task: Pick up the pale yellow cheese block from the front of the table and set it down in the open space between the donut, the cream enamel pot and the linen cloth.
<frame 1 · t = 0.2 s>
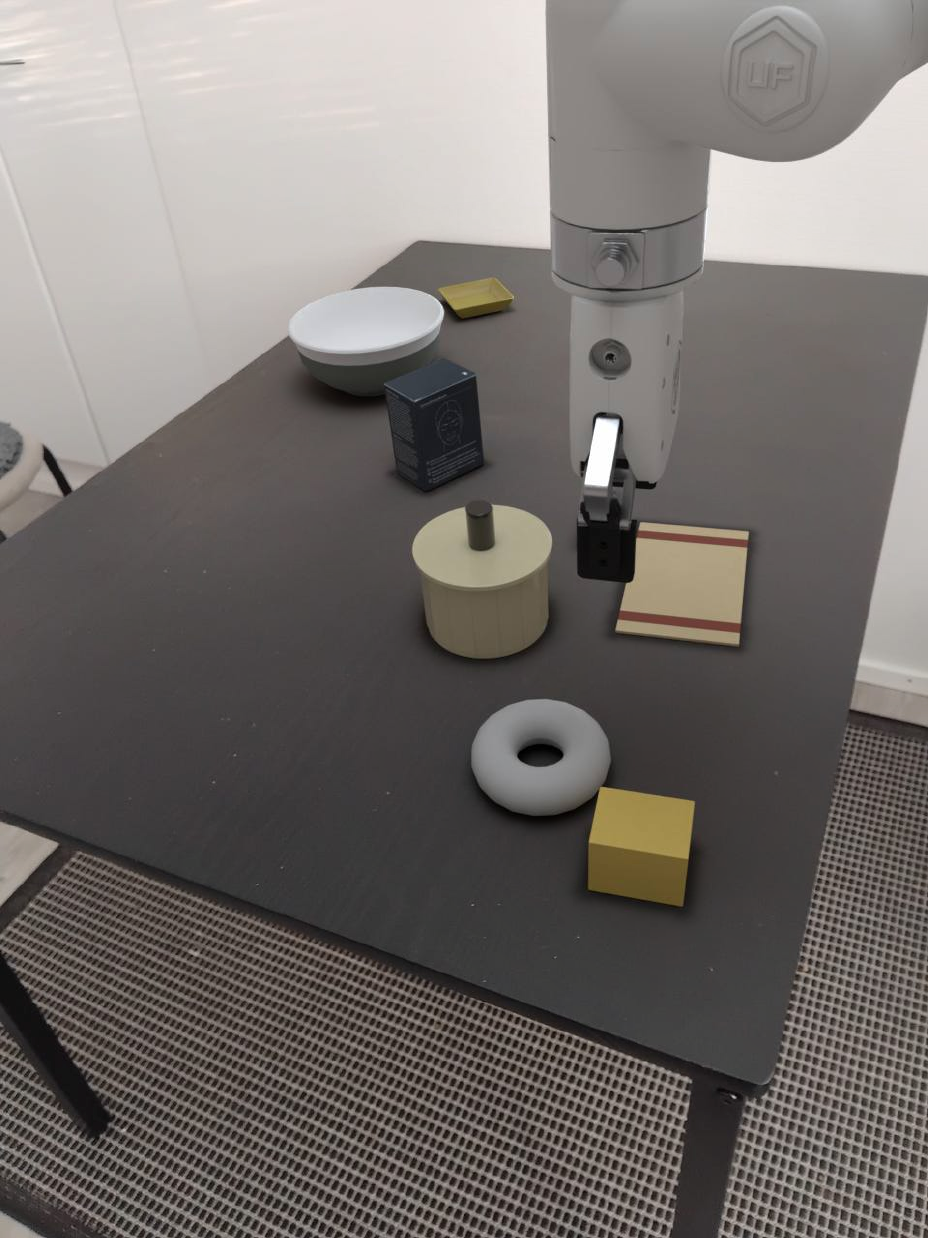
hand: (619, 529, 59), 20 cm above the table, tool pointing down, fingers open, 9 cm apart
pot: (487, 618, 84), on the table
donut: (541, 772, 71), on the table
bowl: (375, 381, 121), on the table
can opener: (598, 521, 94), on the table
pot lid: (482, 548, 80), point 7 cm above the table, touching pot
cheese: (639, 869, 64), on the table
cloth: (685, 580, 86), on the table
yellow tray: (476, 308, 136), on the table
box: (440, 470, 104), on the table
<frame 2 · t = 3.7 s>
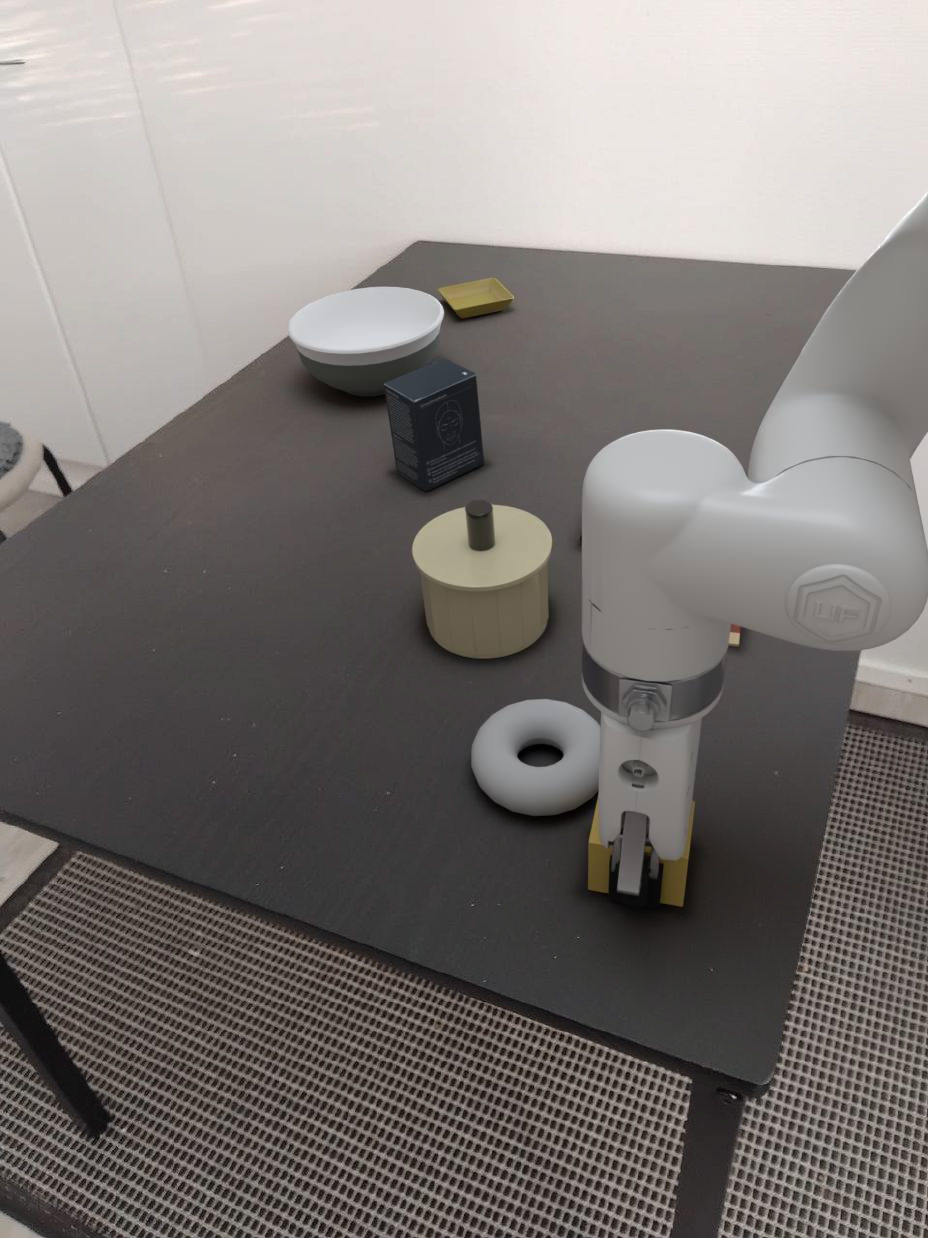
hand: (639, 864, 63), 1 cm above the table, tool pointing down, fingers closed on cheese, 4 cm apart
cheese: (639, 869, 64), on the table, touching gripper
everything else where it was.
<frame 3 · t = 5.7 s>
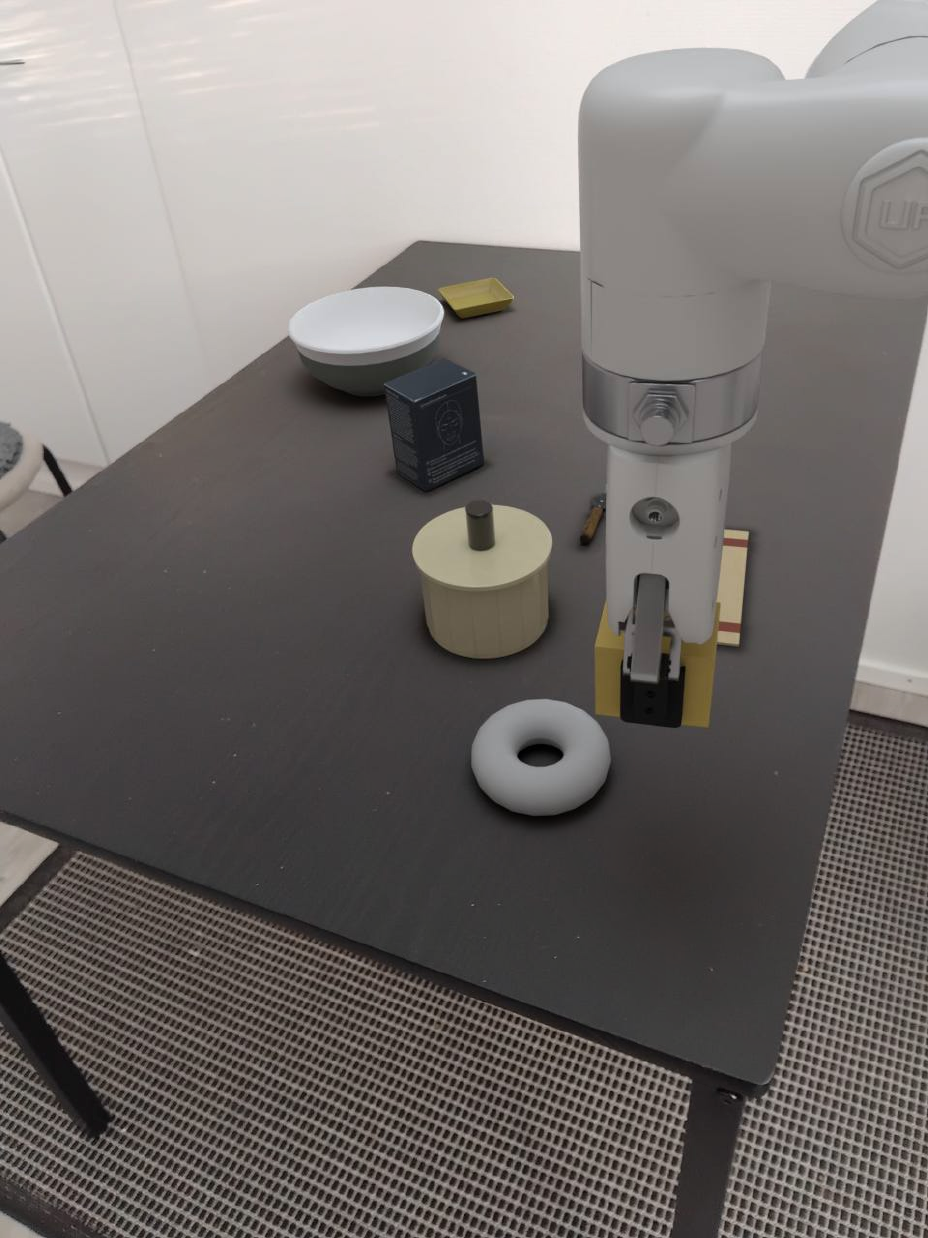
hand: (656, 684, 54), 16 cm above the table, tool pointing down, fingers closed on cheese, 4 cm apart
cheese: (655, 692, 54), point 16 cm above the table, touching gripper
everything else where it was.
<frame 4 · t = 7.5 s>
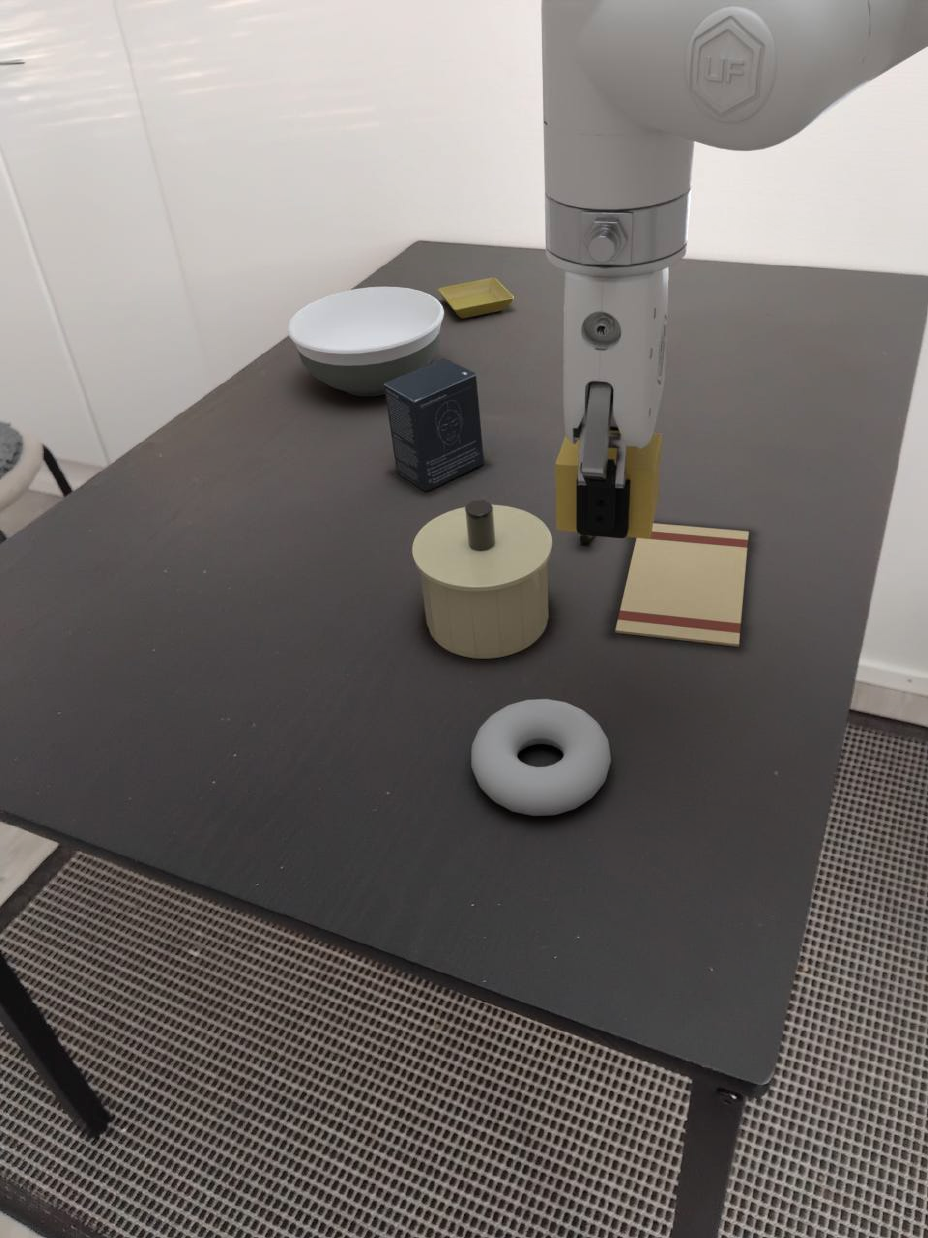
hand: (608, 507, 63), 18 cm above the table, tool pointing down, fingers closed on cheese, 4 cm apart
cheese: (607, 515, 64), point 18 cm above the table, touching gripper
everything else where it was.
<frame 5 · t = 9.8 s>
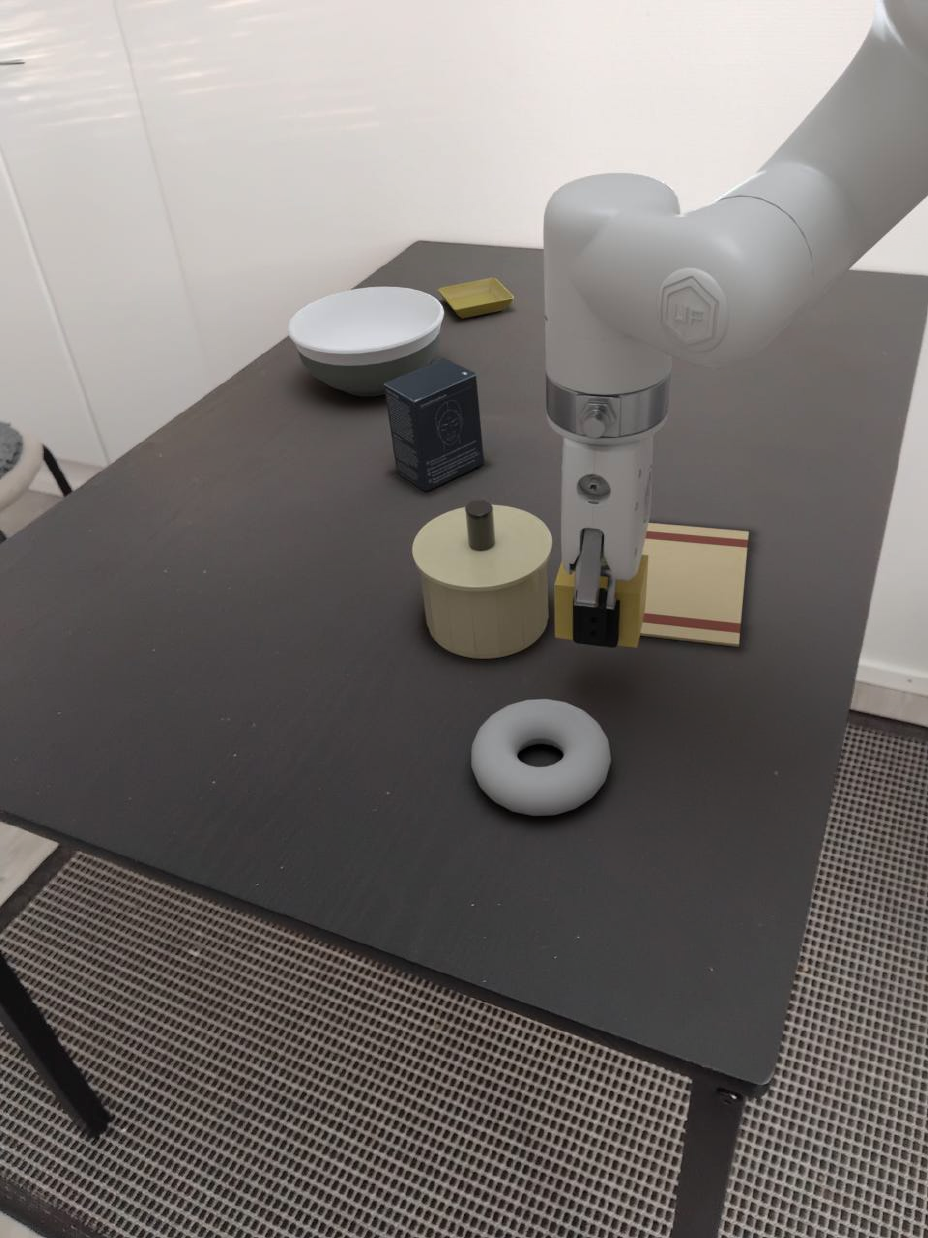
hand: (601, 617, 72), 7 cm above the table, tool pointing down, fingers closed on cheese, 4 cm apart
cheese: (600, 623, 72), point 7 cm above the table, touching gripper
everything else where it was.
when the fingers open (1 cm above the table, at t = 11.7 s): cheese stays where it is, on the table.
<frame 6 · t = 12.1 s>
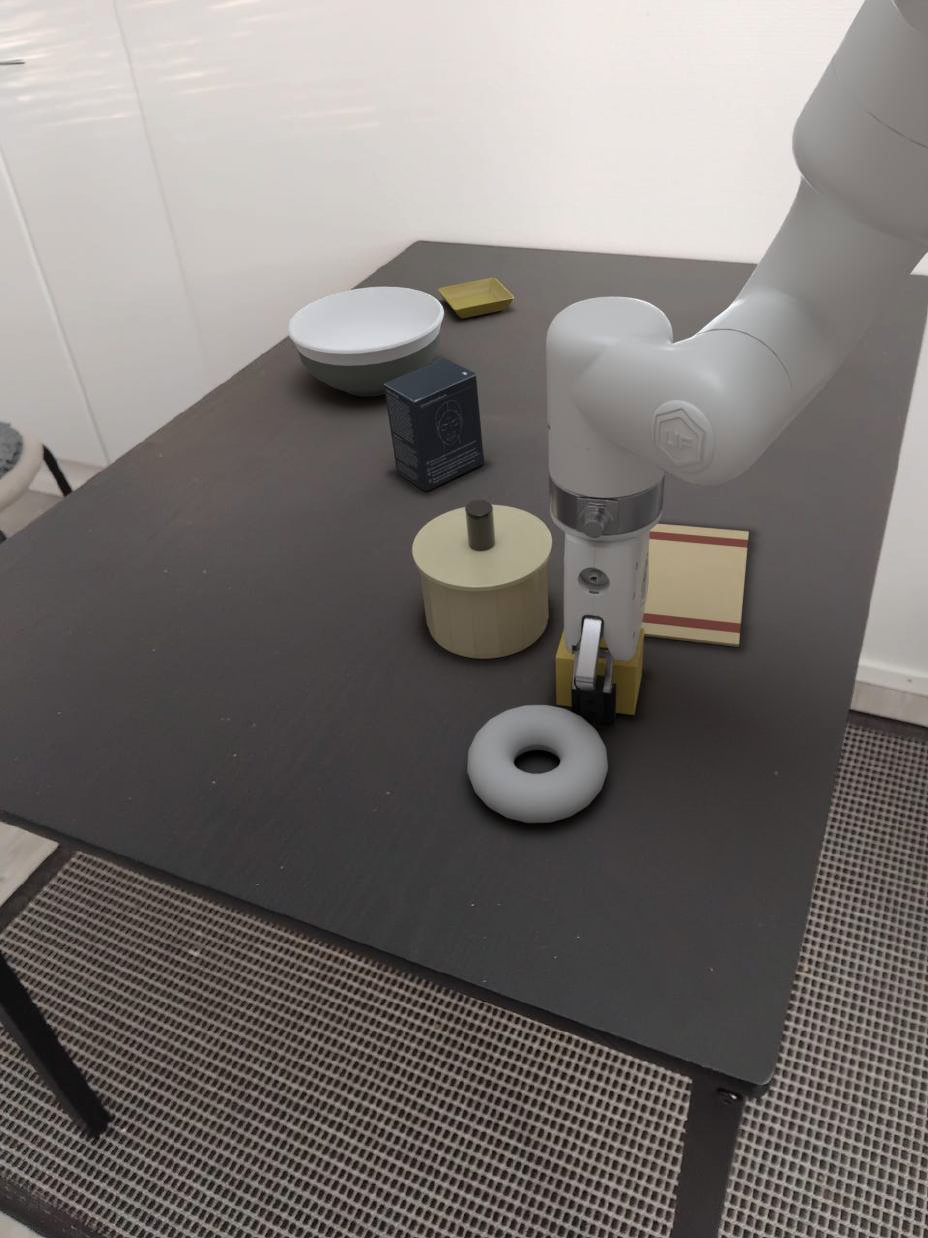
hand: (602, 681, 76), 1 cm above the table, tool pointing down, fingers open, 7 cm apart
donut: (537, 778, 71), on the table, touching gripper
cheese: (599, 690, 77), on the table
everything else where it was.
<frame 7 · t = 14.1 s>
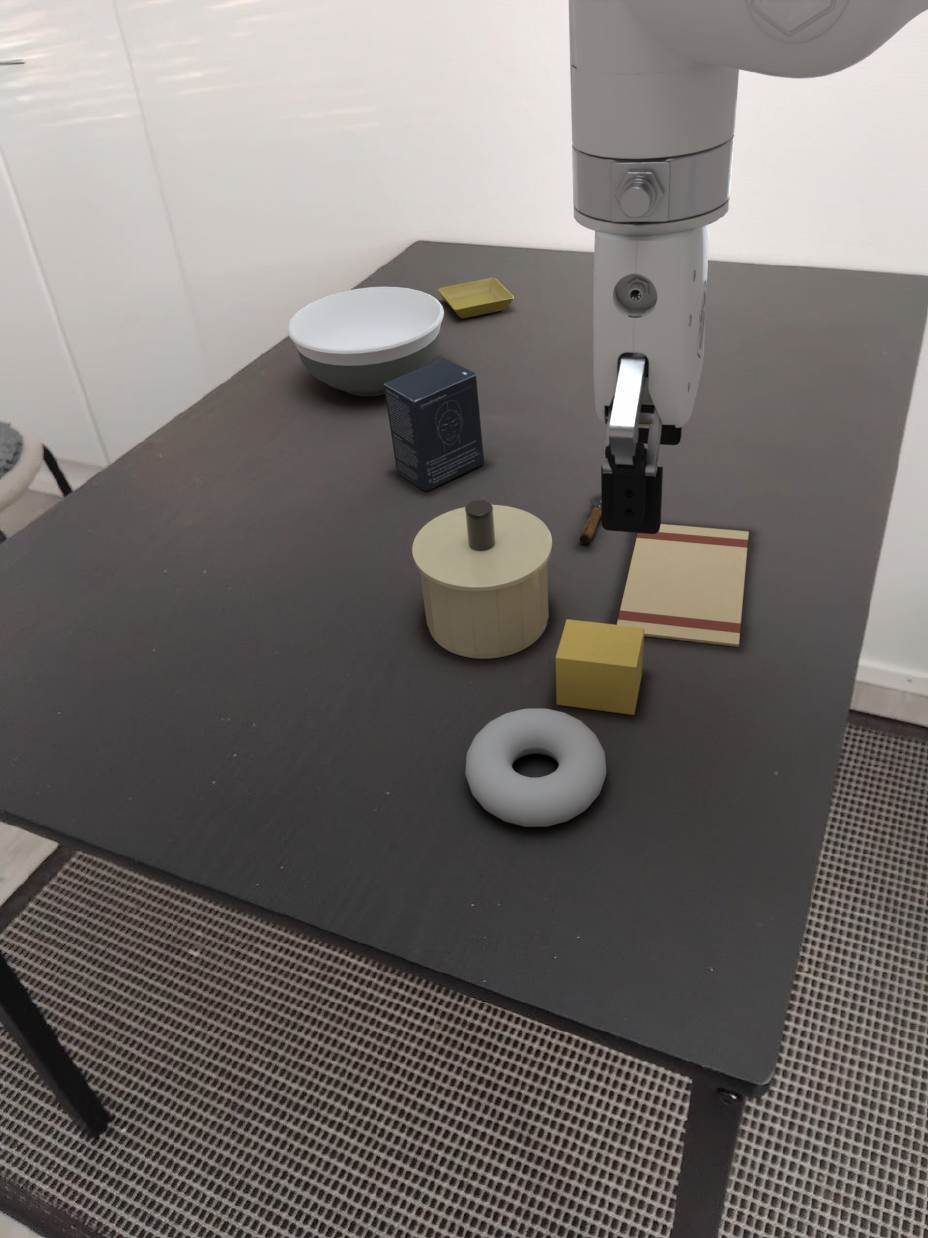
hand: (643, 482, 58), 22 cm above the table, tool pointing down, fingers open, 9 cm apart
donut: (536, 782, 70), on the table
everything else where it was.
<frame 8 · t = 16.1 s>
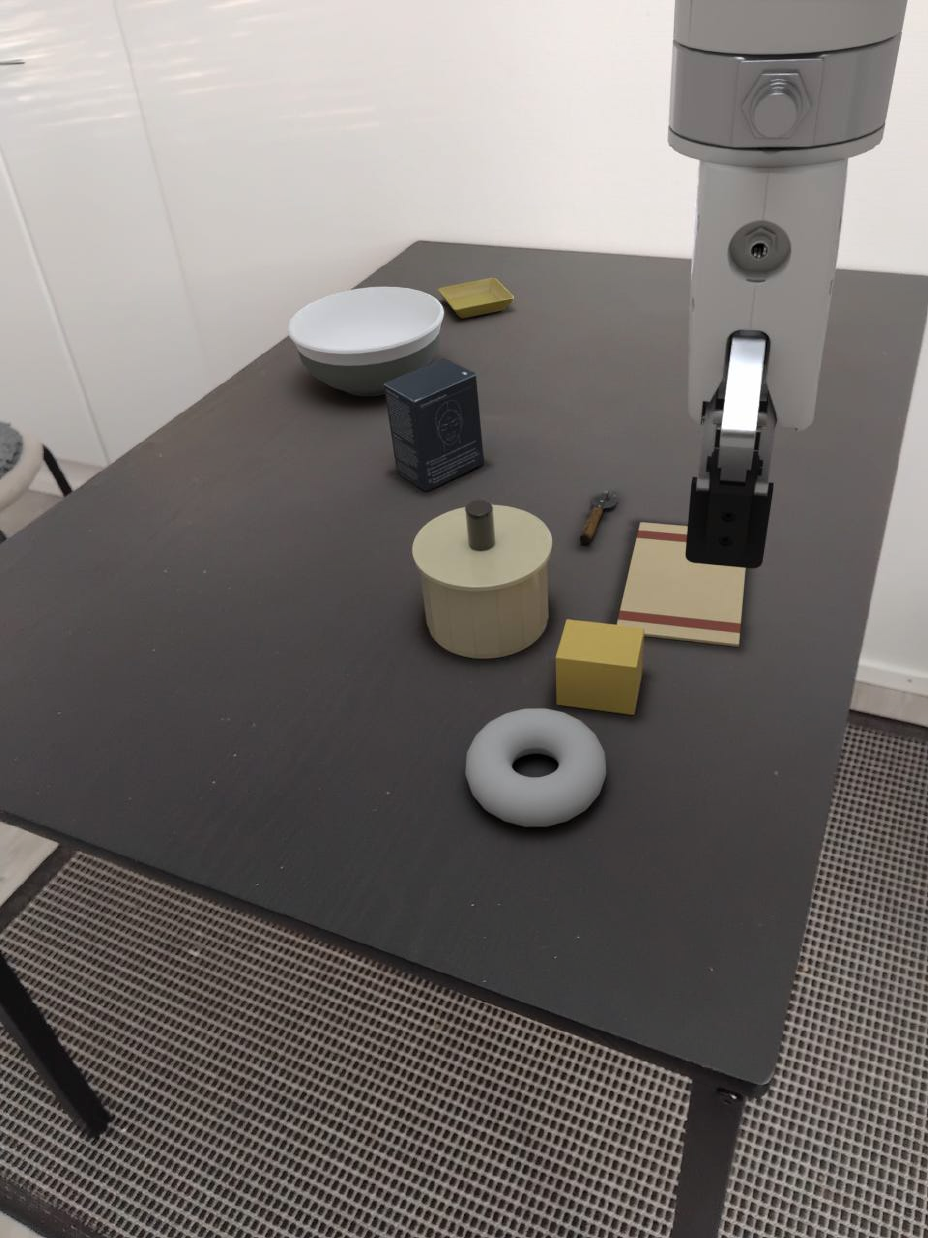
hand: (730, 499, 46), 28 cm above the table, tool pointing down, fingers open, 9 cm apart
nothing on the table moved.
at the end: cheese inside the target area on the table beside the pot (0.1 cm from its centre), on the table; cheese 15.8 cm from the cloth (horizontally); cheese tilted 0° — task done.
